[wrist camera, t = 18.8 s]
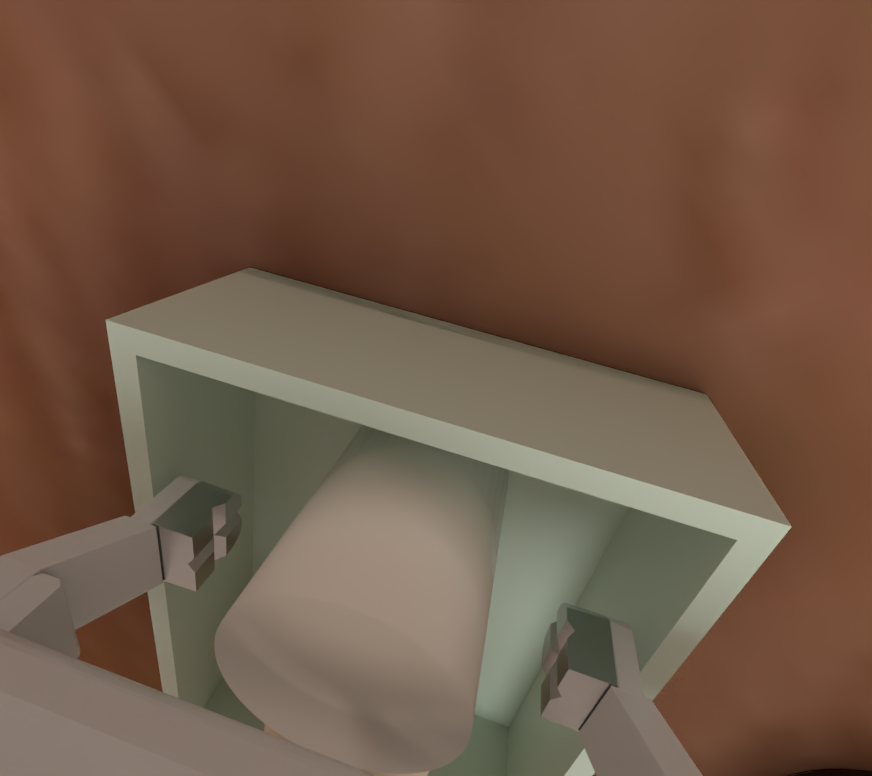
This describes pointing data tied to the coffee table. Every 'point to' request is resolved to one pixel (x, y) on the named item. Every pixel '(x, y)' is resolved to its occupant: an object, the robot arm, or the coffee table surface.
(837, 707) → the coffee table surface
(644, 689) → the tray
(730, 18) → the coffee table surface
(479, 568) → the ceramic cylinder
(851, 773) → the coffee mug
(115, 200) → the coffee table surface
